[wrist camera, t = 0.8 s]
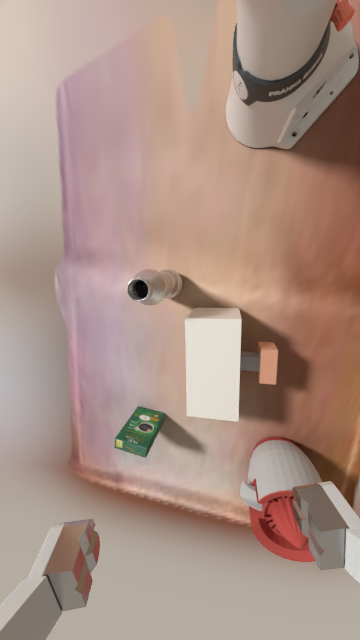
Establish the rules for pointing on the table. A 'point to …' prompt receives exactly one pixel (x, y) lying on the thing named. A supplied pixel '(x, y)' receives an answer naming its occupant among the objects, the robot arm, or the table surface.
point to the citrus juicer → (278, 496)
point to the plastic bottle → (154, 286)
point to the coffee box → (139, 431)
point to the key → (261, 362)
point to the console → (213, 363)
